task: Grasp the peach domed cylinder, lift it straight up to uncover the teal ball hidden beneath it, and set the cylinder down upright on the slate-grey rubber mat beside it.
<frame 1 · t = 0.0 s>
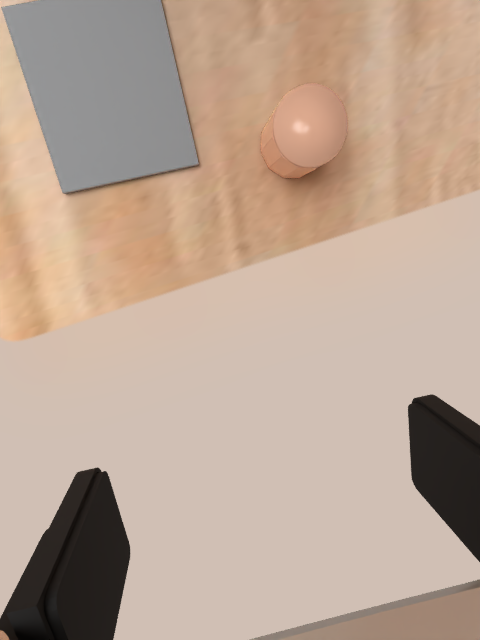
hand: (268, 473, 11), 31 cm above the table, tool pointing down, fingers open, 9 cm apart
peach domed cylinder: (292, 143, 38), on the table
slate mat: (109, 94, 35), on the table
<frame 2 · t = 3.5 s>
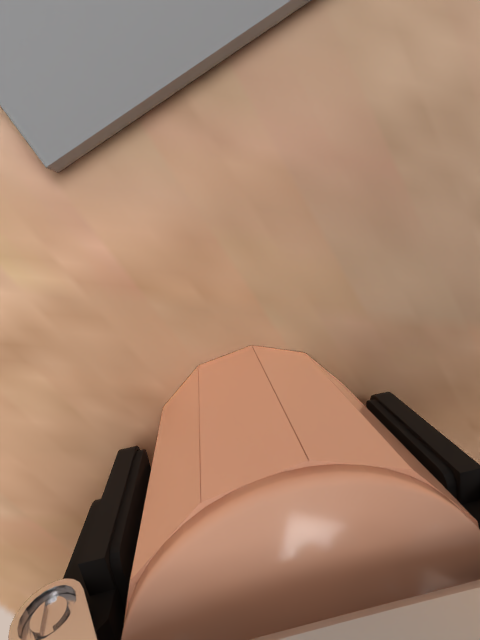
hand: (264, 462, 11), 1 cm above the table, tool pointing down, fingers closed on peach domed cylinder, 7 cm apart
peach domed cylinder: (258, 441, 12), on the table, touching gripper
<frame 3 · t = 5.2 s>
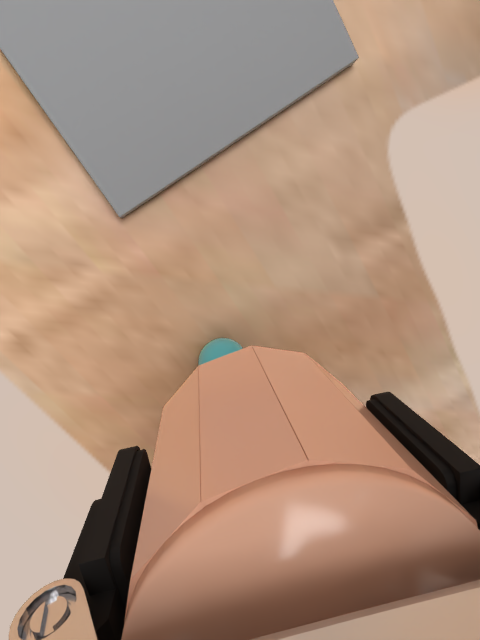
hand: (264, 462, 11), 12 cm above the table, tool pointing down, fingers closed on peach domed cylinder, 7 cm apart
peach domed cylinder: (258, 441, 12), point 11 cm above the table, touching gripper
teal ball: (222, 362, 22), on the table
slate mat: (165, 17, 19), on the table
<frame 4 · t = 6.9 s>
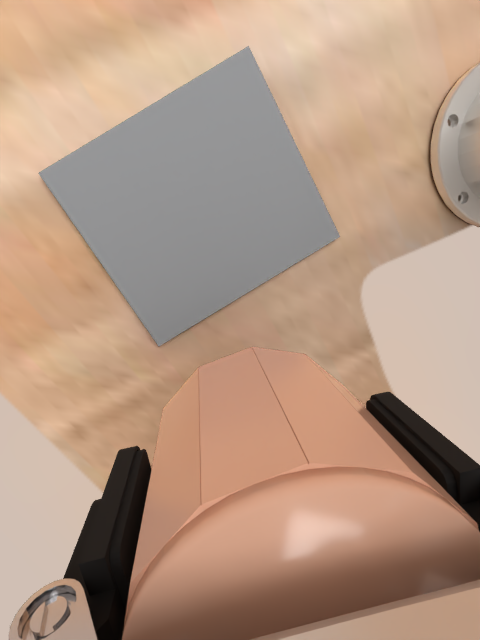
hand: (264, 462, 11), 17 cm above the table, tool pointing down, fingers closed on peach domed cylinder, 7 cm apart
peach domed cylinder: (258, 443, 12), point 16 cm above the table, touching gripper
slate mat: (200, 208, 26), on the table
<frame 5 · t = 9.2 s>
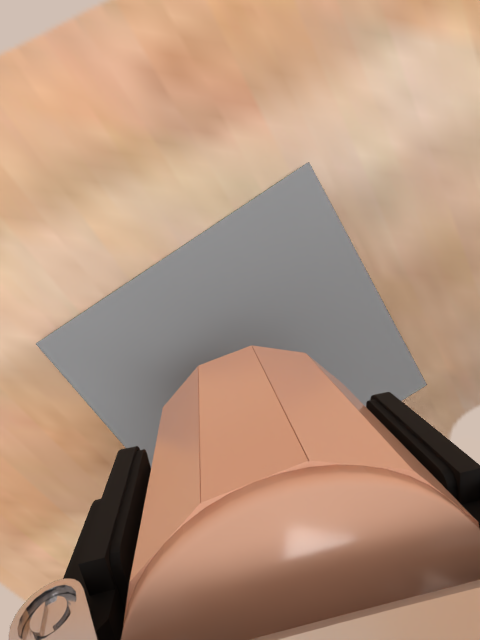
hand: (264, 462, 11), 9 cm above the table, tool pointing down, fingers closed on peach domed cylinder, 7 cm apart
peach domed cylinder: (258, 442, 12), point 8 cm above the table, touching gripper
slate mat: (244, 360, 20), on the table
when the fingers open (3 cm above the table, at t = 10.8 s): peach domed cylinder drops 1 cm, resting on slate mat.
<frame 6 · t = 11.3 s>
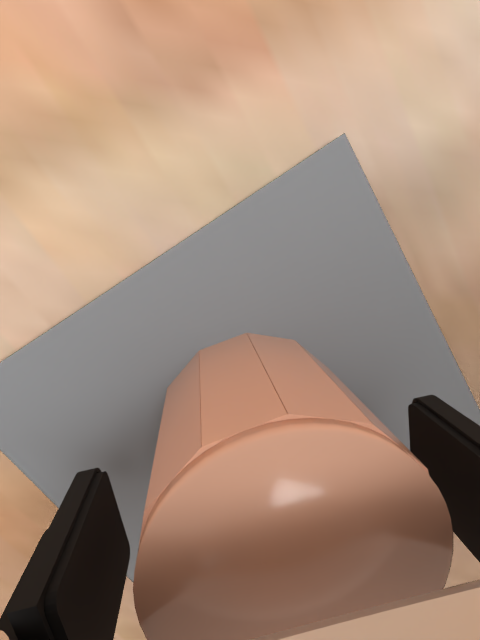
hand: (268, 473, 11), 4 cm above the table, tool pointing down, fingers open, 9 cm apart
peach domed cylinder: (253, 420, 14), point 1 cm above the table, touching slate mat
slate mat: (249, 410, 14), on the table
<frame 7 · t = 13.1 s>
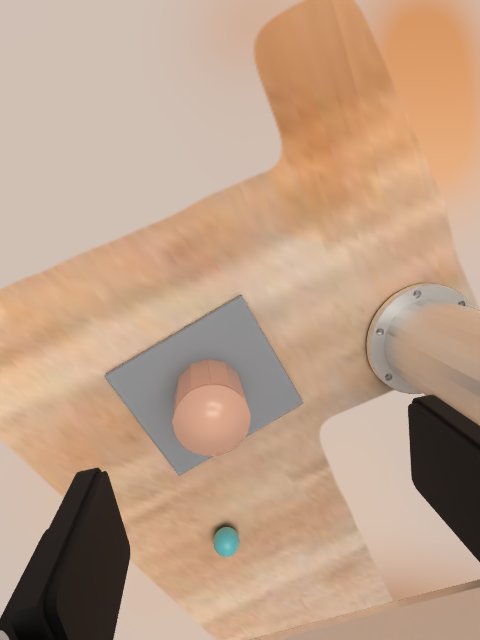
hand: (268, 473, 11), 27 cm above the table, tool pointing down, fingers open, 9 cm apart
peach domed cylinder: (209, 390, 38), point 1 cm above the table, touching slate mat
teal ball: (226, 541, 42), on the table
slate mat: (208, 387, 38), on the table
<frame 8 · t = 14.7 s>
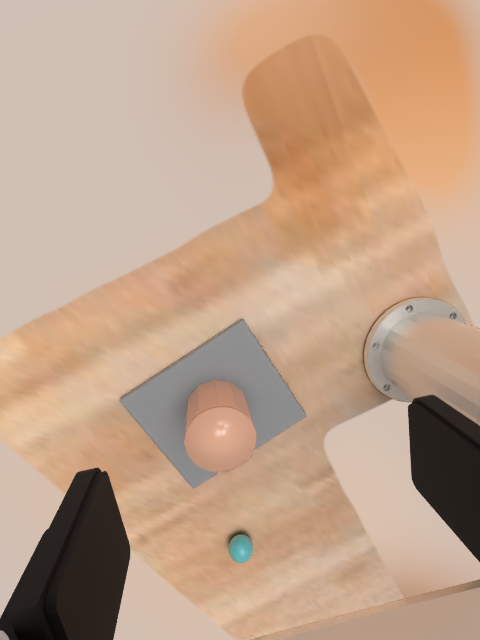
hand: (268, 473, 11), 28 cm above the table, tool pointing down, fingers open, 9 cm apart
peach domed cylinder: (217, 408, 40), point 1 cm above the table, touching slate mat
teal ball: (240, 548, 44), on the table
slate mat: (216, 405, 41), on the table
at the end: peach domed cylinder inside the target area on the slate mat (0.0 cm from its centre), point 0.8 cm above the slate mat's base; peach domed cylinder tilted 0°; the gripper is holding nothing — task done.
